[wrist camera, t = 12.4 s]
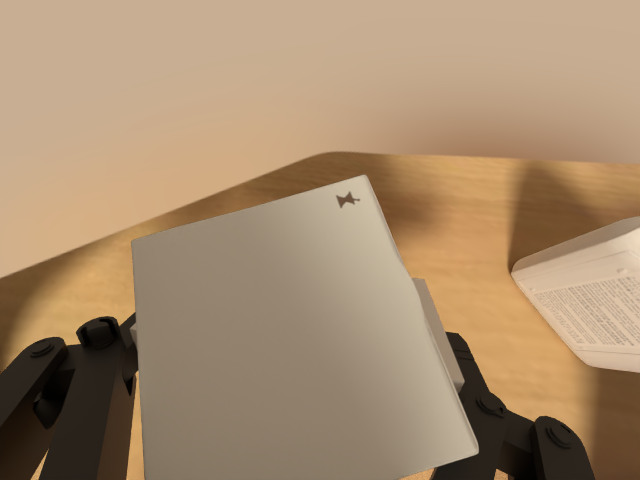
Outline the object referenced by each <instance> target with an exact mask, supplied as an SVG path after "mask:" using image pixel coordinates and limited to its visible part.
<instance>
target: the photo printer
mask: <svg viewBox="0 0 640 480" xmlns="http://www.w3.org/2000/svg"><path fill="white" fill-rule="evenodd" d="M511 276H512V278H513V279H514V281H515V283H516V284H517V286H518V287H519V288H520V289H521V291H522V292H523V293H524V295H525V296H526V297H527V298H528V299H529V301H530V302H531V303H532V304H533V305H534V307H535V308H536V309H537V310H538V312H539V313H540V314H541V315H542V316H543V318H544V319H545V320H546V321H547V322H548V324H549V325H550V326H551V327H552V328H553V329H554V331H555V332H556V333H557V334H558V335H559V336H560V338H561V339H562V340H563V341H564V342H565V343H566V345H567V346H568V347H569V348H570V349H571V350H572V351H573V352H574V353H575V354H576V355H577V356H578V357H579V358H580V359H581V360H582V361H583V362H584V363H586V364H587V365H589V366H592V367H598V368H606V369H614V370H622V371H630V372H638V373H640V216H638V217H631V218H627V219H623V220H620V221H617V222H614V223H612V224H609V225H607V226H604V227H601V228H599V229H596V230H594V231H591V232H588V233H586V234H583V235H581V236H578V237H575V238H573V239H570V240H568V241H565V242H562V243H560V244H557V245H555V246H552V247H549V248H547V249H544V250H542V251H539V252H537V253H534V254H531V255H529V256H526V257H524V258H521V259H520V260H518V261H517V262H516V263H515V264H514V266H513V269H512V272H511Z"/></svg>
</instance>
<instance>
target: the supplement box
mask: <svg viewBox="0 0 640 480" xmlns="http://www.w3.org/2000/svg"><path fill="white" fill-rule="evenodd" d="M131 247H132V259H133V275H134V292H135V311H136V331H137V350H138V369H139V386H140V404H141V422H142V440H143V457H144V475H145V480H398V479H401V478H404V477H407V476H410V475H413V474H416V473H419V472H422V471H425V470H428V469H432V468H435V467H438V466H441V465H444V464H448V463H451V462H454V461H457V460H460V459H464V458H467V457H470V456H473V455H476V454H478V453H479V446H478V442H477V440H476V437H475V435H474V433H473V430H472V428H471V425H470V423H469V421H468V418H467V416H466V413H465V411H464V408H463V406H462V404H461V401H460V399H459V396H458V394H457V392H456V389H455V387H454V384H453V382H452V380H451V377H450V375H449V372H448V370H447V367H446V365H445V363H444V360H443V358H442V355H441V353H440V351H439V348H438V346H437V343H436V341H435V338H434V336H433V333H432V331H431V329H430V326H429V324H428V321H427V319H426V316H425V314H424V311H423V308H422V305H421V301H420V297H419V294H418V292H417V289H416V287H415V284H414V282H413V280H412V278H411V277H410V275H409V273H408V271H407V270H406V268H405V266H404V263H403V261H402V258H401V256H400V254H399V251H398V249H397V247H396V244H395V242H394V240H393V237H392V235H391V232H390V230H389V227H388V225H387V222H386V220H385V217H384V215H383V212H382V210H381V207H380V205H379V202H378V200H377V198H376V195H375V193H374V191H373V188H372V186H371V184H370V181H369V179H368V177H367V176H366V175H365V174H363V175H360V176H357V177H353V178H350V179H346V180H343V181H340V182H336V183H333V184H329V185H326V186H322V187H319V188H316V189H312V190H309V191H305V192H302V193H299V194H295V195H292V196H288V197H285V198H281V199H278V200H275V201H271V202H268V203H264V204H261V205H257V206H254V207H250V208H246V209H243V210H239V211H235V212H231V213H227V214H224V215H220V216H216V217H213V218H209V219H205V220H201V221H197V222H194V223H190V224H186V225H182V226H178V227H175V228H171V229H168V230H165V231H161V232H158V233H155V234H151V235H148V236H145V237H141V238H138V239H134V240H132V241H131Z"/></svg>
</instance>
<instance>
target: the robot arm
mask: <svg viewBox="0 0 640 480" xmlns="http://www.w3.org/2000/svg"><path fill="white" fill-rule="evenodd" d="M412 280H413V282H414V284H415V287H416V289H417V292H418V294H419V297H420V301H421V305H422V308H423V311H424V314H425V316H426V319H427V321H428V324H429V326H430V329H431V331H432V333H433V336H434V338H435V341H436V343H437V346H438V348H439V351H440V353H441V355H442V358H443V360H444V363H445V365H446V367H447V370H448V372H449V375H450V377H451V380H452V382H453V384H454V387H455V389H456V392H457V394H458V396H459V399H460V401H461V404H462V406H463V408H464V411H465V413H466V416H467V418H468V421H469V423H470V425H471V428H472V430H473V433H474V435H475V437H476V440H477V442H478V446H479V453H478V454H476V455H473V456H470V457H467V458H464V459H460V460H457V461H454V462H451V463H448V464H444V465H441V466H438V467H435V468H434V471H433V473H432V475H431V478H430V480H494V476H495V472H496V468H497V469H499V470H500V471H502V472H504V473H506V474H508V480H595V477H594V474H593V471H592V468H591V465H590V462H589V459H588V456H587V453H586V450H585V447H584V446H583V444H582V442H581V440H580V438H579V437H578V436H577V435H576V434H575V433H574V432H573V431H572V430H571V429H570V428H569V427H567V426H566V425H565V424H564V423H562V422H560V421H558V420H556V419H555V418H551V417H548V416H540V417H538V418H537V419H536V420H535V422H533V421H531V420H529V419H527V418H524V417H522V416H520V415H517V414H515V413H513V412H511V411H509V410H507V408H506V406H505V405H504V403H503V402H502V401H501V400H500V399H499V398H498V397H497V396H495V395H494V394H493V393H491V392H490V391H489V389H488V387H487V385H486V383H485V381H484V379H483V377H482V374H481V372H480V370H479V368H478V366H477V364H476V362H475V361H474V357H473V355H472V354H471V351H470V349H469V347H468V345H467V343H466V341H465V340H464V339H463V338H462V337H461V336H460V335H459V334H458V333H451V332H445V330H444V328H443V325H442V323H441V320H440V318H439V315H438V313H437V310H436V308H435V305H434V303H433V300H432V298H431V295H430V293H429V290H428V288H427V285H426V282H425V280H424V279H418V278H412ZM76 334H77V336H78V339H79V341H80V343H81V344H77V345H67V346H66V344H65V342H64V340H63V339H62V338H60V337H50V338H45V339H42V340H40V341H37V342H35V343H33V344H31V345H30V346H28V347H27V348H25V349H24V350H23V351H22V352H21V353H20V354H19V355H18V356H17V357H16V358H15V359H14V360H13V362H12V363H11V364H10V365H9V366H8V367H7V368H6V369H5V370H4V371H3V372H2V373H1V375H0V480H31V478H32V476H33V475H34V473H35V471H36V469H37V468H38V466H39V464H40V463H41V461H42V459H43V457H44V456H45V454H46V452H47V451H48V453H47V456H46V459H45V462H44V465H43V468H42V471H41V474H40V477H39V480H126V476H127V466H128V457H129V447H130V438H131V428H132V418H133V409H134V399H135V390H136V380H137V379H136V375H135V373H136V372H137V371H138V370H139V369H138V350H137V331H136V312H135V313H134V314H133V315H131V316H130V317H129V318H128V319H127V320H126V321H125V322H124V323H122V324H121V325H120V326H119V325H118V322H117V319H115V318H114V317H109V316H106V317H99V318H96V319H93V320H91V321H89V322H87V323H85V324H83V325H82V326H81V327H80V328H79V329H78V330H77V332H76ZM48 449H49V450H48Z"/></svg>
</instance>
